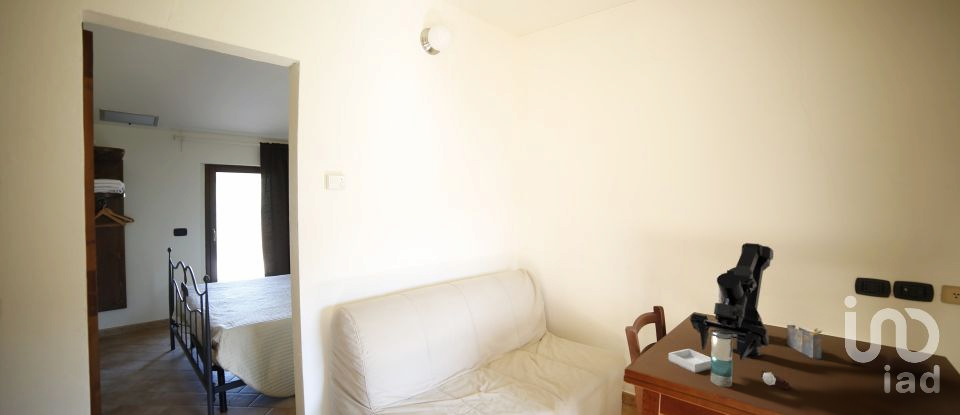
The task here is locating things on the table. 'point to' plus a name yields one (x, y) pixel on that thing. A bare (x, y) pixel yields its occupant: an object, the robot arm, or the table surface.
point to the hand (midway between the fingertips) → (721, 354)
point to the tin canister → (721, 358)
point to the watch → (774, 380)
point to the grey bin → (690, 360)
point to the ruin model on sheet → (804, 341)
